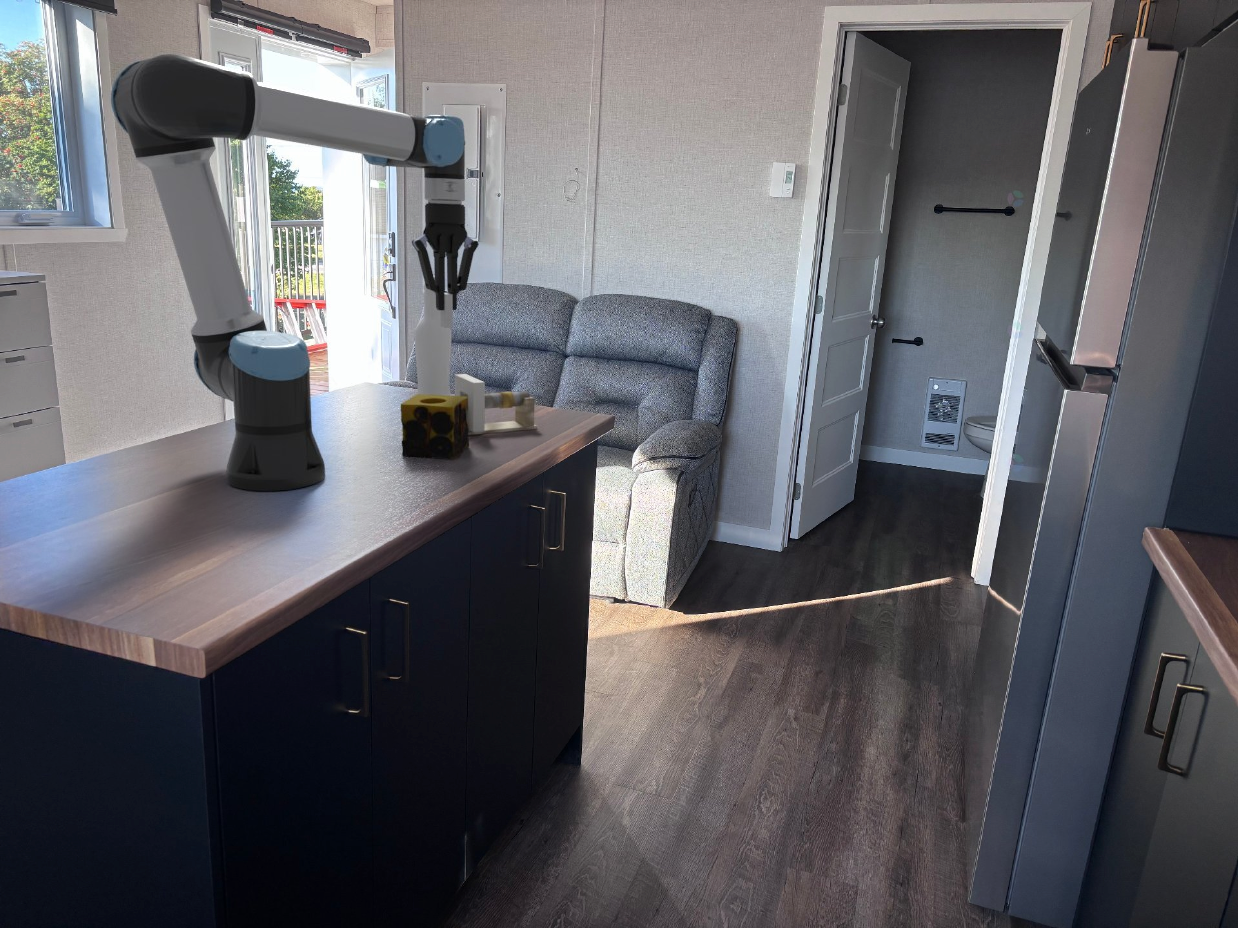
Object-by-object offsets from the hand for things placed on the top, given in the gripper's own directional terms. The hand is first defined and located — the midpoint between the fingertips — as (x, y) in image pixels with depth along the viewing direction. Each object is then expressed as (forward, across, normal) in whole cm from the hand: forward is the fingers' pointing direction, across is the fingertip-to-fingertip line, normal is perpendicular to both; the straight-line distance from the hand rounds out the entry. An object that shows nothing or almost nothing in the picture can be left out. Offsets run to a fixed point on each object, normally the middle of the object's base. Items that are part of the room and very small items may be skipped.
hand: (446, 327), depth 181 cm
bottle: (+22, +4, +18) cm, 28 cm away
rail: (+22, +9, 0) cm, 23 cm away
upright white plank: (+22, +5, 0) cm, 22 cm away
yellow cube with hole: (+22, -7, -13) cm, 26 cm away
